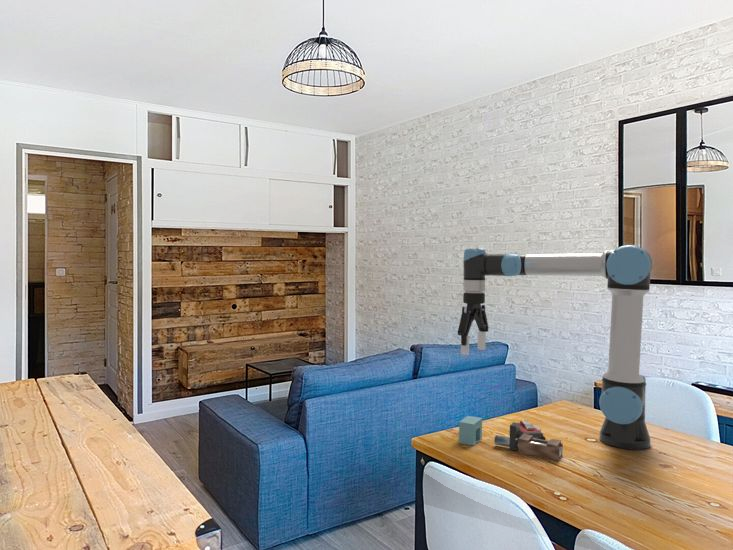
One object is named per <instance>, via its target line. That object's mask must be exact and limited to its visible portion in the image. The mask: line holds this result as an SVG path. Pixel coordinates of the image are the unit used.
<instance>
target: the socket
mask: <svg viewBox="0 0 733 550" xmlns="http://www.w3.org/2000/svg"><path fill="white" fill-rule="evenodd" d="M458 422H459V423H458V443H459V444H462V445H466V444H467V446H471V445H474V446H475V445H477V444H478V443H479V442H480V441H482V439H483V418H482V417H477V416H470V415H467V416H466V417H463V419H461V420H460V421H458ZM477 442H478V443H477Z"/></svg>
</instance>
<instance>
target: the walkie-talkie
mask: <svg viewBox="0 0 733 550" xmlns="http://www.w3.org/2000/svg"><path fill="white" fill-rule="evenodd" d="M519 423H520V432H519V436H520V437H521V436H522V435H523V434H528V435H533V438H536V439H542V440H547V439H546V437H545V436H544V433H543V432H541V431H542V429H541V428H540V427H539V426H538V425H537V424H535V425H533V424H531V423H530V422H529V421H528V420H526V419H524V420H520V421H519ZM520 437H519V438H520Z"/></svg>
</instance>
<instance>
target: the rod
mask: <svg viewBox="0 0 733 550" xmlns="http://www.w3.org/2000/svg"><path fill="white" fill-rule="evenodd" d="M519 432H520V422H512V423H511V424H510V425H509V436H504V435H499V434H495V436H494V441H493V442H494V445H496V446H501V447H505V448H506V447H507V448H508V449H509V450H512V451H518V439H519V438H520V437H519ZM530 442H531V443H537V444H542V445H547V444H544V443H538V442H533V441H530ZM558 447H559V457H561V453H562V454H563V449H562V448H561V447H560V446H558ZM561 458H562V457H561Z"/></svg>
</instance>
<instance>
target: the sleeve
mask: <svg viewBox="0 0 733 550" xmlns="http://www.w3.org/2000/svg"><path fill="white" fill-rule="evenodd" d="M530 441H533V442H538V443H544V444H547V445H542V444H537V443H531V442H530ZM563 444H564V443H563V442H562V440H561V439H555V438H550V439H549V440H547V439H546V440H542V439H536V438H533V435H528V434H523V435H522V436H521V437H519V439H518V449H517V452H518V454H519V453H520V455H524V454H525V455H526V456H531V457H534V456H536V457H535V458H539V457H541V459H545V458H546V459H545V460H550V461H555V462H559V461H560V460H561V458H562V457H563V452H562V453H561V457H559V447H558V446H560V447H561V448H562V450H563Z"/></svg>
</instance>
